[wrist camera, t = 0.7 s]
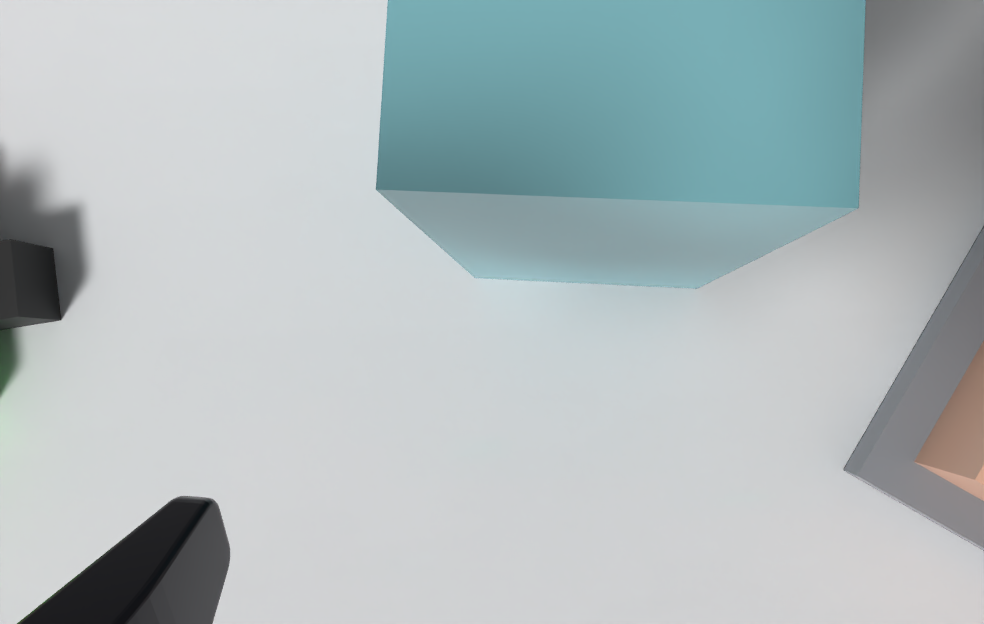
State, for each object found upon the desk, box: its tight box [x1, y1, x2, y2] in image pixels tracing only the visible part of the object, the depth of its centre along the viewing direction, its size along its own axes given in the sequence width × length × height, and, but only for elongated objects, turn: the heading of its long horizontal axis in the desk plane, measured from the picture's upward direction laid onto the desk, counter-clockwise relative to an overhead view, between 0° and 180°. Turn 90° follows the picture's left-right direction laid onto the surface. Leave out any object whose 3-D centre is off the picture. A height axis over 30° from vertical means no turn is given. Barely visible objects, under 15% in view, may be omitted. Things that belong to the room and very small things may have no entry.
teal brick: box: [376, 0, 866, 289], centre depth 16 cm, size 6×6×12 cm
